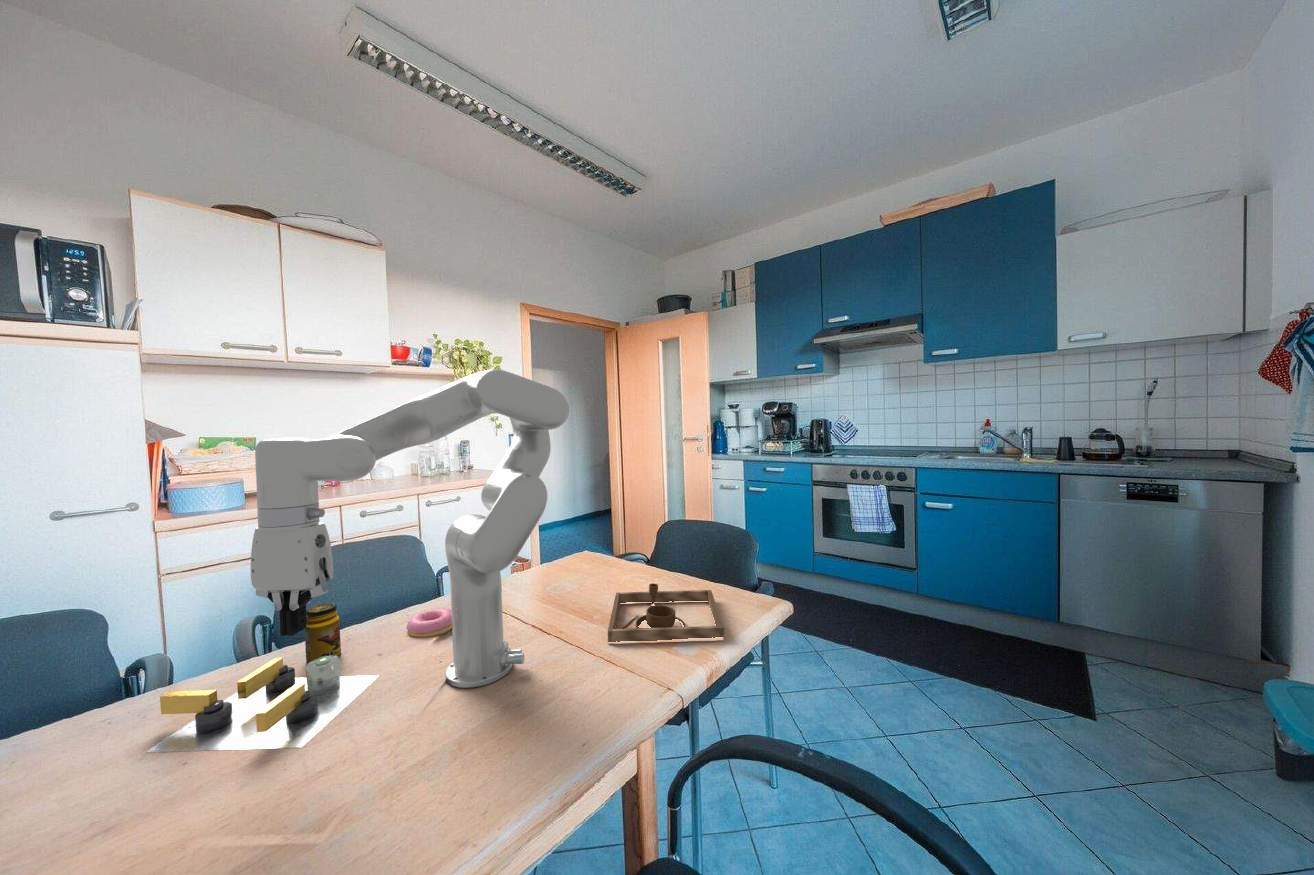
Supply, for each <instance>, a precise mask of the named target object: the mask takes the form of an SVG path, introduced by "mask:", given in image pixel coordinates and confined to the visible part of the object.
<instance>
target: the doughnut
mask: <svg viewBox="0 0 1314 875" xmlns="http://www.w3.org/2000/svg"><path fill="white" fill-rule="evenodd" d="M406 630H407V633H408V635H410V636H412V637H415V638H425V637H426V638H427V637H432V636H433V637H434V638H436V637H439V636H441V635H444V634H447V633H448V632H449V631H452V614H451V609H449V608H437V607H436V608H431V609H427V610H424V611H420V612H419V613H417V614H414V615H413V616H412V617H410V619H409V620H408V621H407V624H406Z"/></svg>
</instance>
